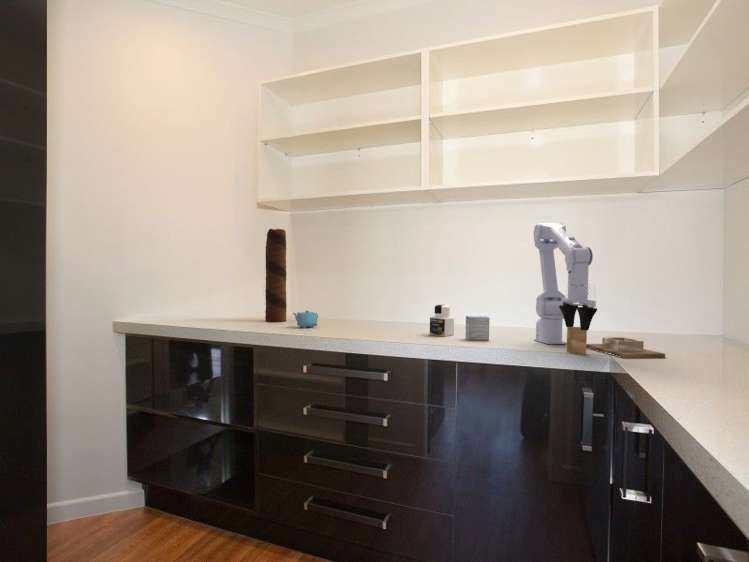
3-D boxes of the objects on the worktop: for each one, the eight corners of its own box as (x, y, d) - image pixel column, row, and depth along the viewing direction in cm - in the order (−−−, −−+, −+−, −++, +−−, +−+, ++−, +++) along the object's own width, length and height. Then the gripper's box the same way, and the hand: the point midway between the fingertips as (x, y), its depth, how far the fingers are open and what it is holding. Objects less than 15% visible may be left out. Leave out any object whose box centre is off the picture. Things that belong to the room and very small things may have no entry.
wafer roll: (266, 322, 192) (267, 227, 191) (263, 320, 202) (264, 230, 201) (288, 322, 196) (289, 229, 195) (284, 319, 206) (285, 231, 205)
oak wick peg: (566, 351, 130) (567, 326, 130) (578, 351, 131) (578, 326, 130) (574, 354, 126) (575, 328, 126) (586, 354, 127) (586, 328, 127)
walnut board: (584, 347, 138) (584, 335, 138) (621, 347, 140) (621, 334, 140) (623, 358, 121) (623, 344, 121) (665, 357, 123) (665, 343, 122)
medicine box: (485, 338, 155) (486, 316, 154) (489, 340, 150) (489, 317, 150) (465, 338, 154) (465, 315, 154) (468, 340, 150) (468, 317, 150)
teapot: (293, 329, 173) (293, 311, 173) (289, 327, 178) (289, 310, 178) (320, 327, 178) (320, 310, 178) (315, 326, 184) (315, 309, 184)
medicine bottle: (429, 334, 163) (429, 304, 162) (439, 333, 168) (439, 304, 168) (444, 336, 158) (444, 306, 158) (454, 334, 163) (454, 305, 163)
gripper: (552, 284, 135) (552, 325, 135) (580, 286, 120) (579, 331, 120) (572, 285, 136) (571, 325, 136) (602, 286, 121) (601, 331, 121)
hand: (576, 328), depth 128 cm, fingers open, 7 cm apart
